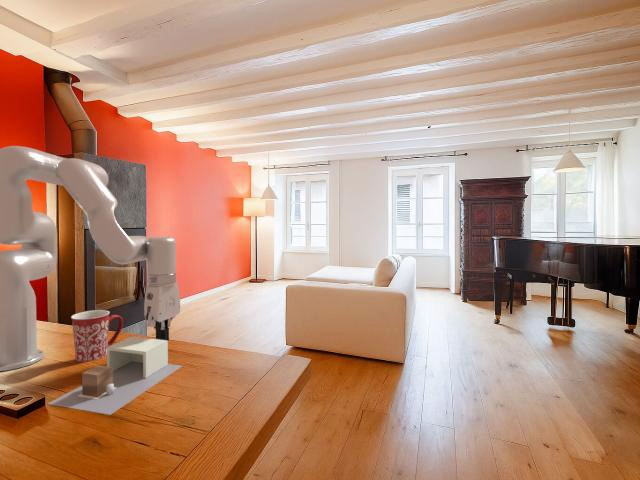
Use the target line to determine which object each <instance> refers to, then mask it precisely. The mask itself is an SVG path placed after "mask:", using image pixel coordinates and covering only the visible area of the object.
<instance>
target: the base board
mask: <svg viewBox="0 0 640 480" xmlns="http://www.w3.org/2000/svg"><path fill="white" fill-rule="evenodd" d="M182 367H183V365H180V364H179V365H178V364H172V363H168V365H166V366H165V367H163V368H161V369H160V370H158V371H157V372H155V373H153V374H152V375H150V376H149V377H147V378H143V363H141V362H133V361H132V362H130V363H128V364H126V365H124V366H122V367H120V368H118V369H116V370H115V371H113V384H108V385H107V386H106V392H105V393H104V394H102V395H100V396H99V397H93V396H87V395H82V385H80V386H78V387H77V388H75V389H73V390H71V391H69V392H67V393H65V394H63V395H61V396H59V397H58V398H56V399H54V400H52V401H50V402H48V403H47V405H50V406H51V405H52V406H57V407H62V408H63V407H64V408H68V409H75V410H80V411H86V412H91V413H97V414H104V415H107V416H111V415H112V414H114V413H115V412H117V411H119V410H120V409H121V408H123V407H124V406H126V405H127V404H128V403H130V402H132V401H133V400H134V399H136V398H137V397H139V396H141V395H142V394H144V393H145V392H147V391H148V390H149V389H151V388H152V387H154V386H155V385H157V384H159V383H160V382H162V381H163V380H164V379H165V378H168V377H169V376H170V375H172V374H173V373H174V372H176V371H178V370H179V369H181V368H182Z"/></svg>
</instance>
